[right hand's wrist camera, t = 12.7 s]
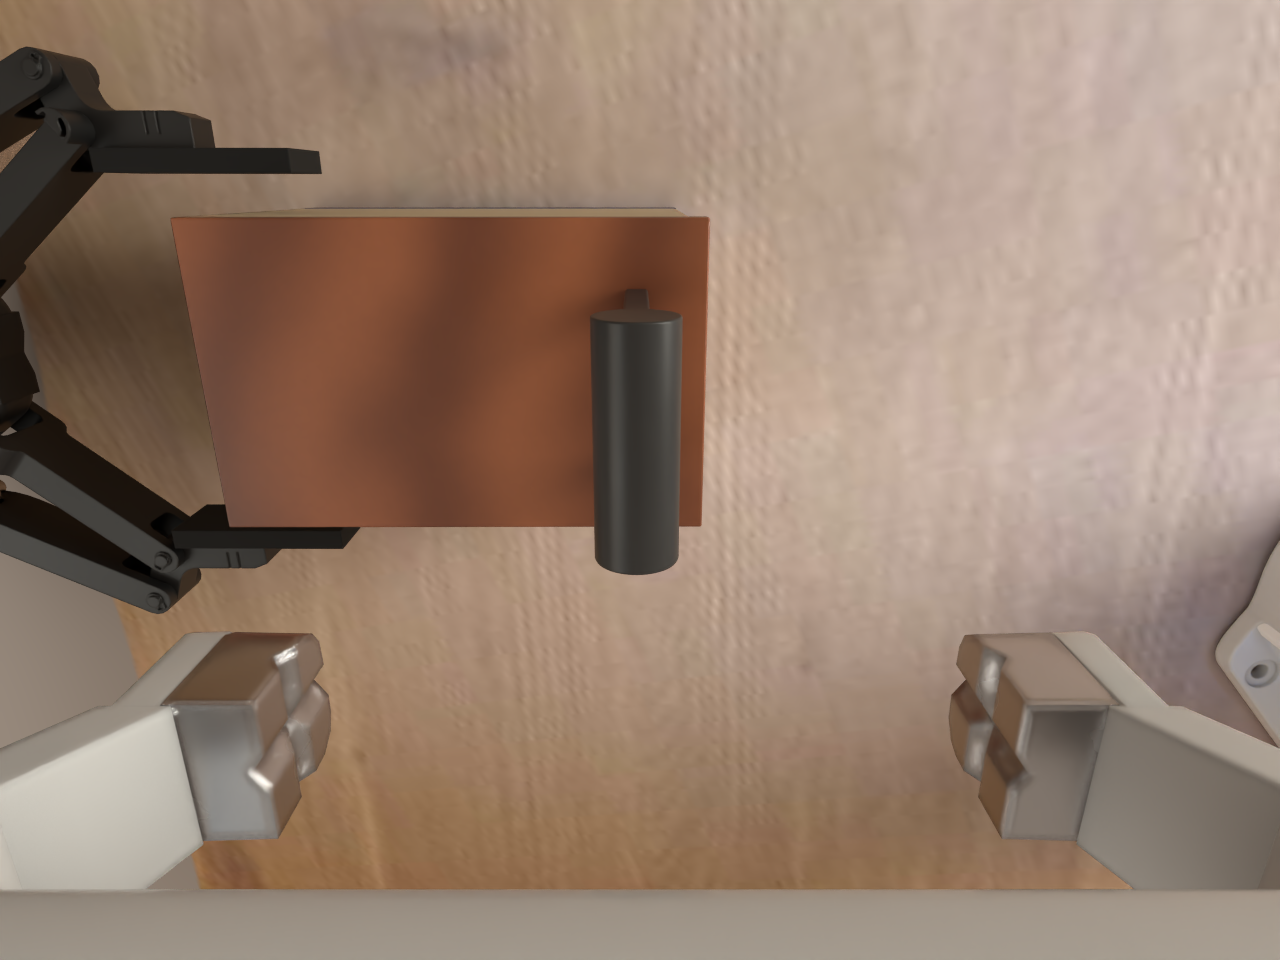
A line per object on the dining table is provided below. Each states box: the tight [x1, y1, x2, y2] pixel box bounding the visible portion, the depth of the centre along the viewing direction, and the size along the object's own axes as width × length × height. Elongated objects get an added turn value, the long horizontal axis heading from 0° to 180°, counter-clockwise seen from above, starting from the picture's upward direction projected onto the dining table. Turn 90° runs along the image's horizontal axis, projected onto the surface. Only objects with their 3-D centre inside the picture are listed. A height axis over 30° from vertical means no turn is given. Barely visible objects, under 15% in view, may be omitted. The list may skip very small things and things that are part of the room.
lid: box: [171, 217, 710, 575], centre depth 23 cm, size 16×10×8 cm, turn 90°
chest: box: [189, 208, 688, 217], centre depth 31 cm, size 16×10×10 cm, turn 90°
